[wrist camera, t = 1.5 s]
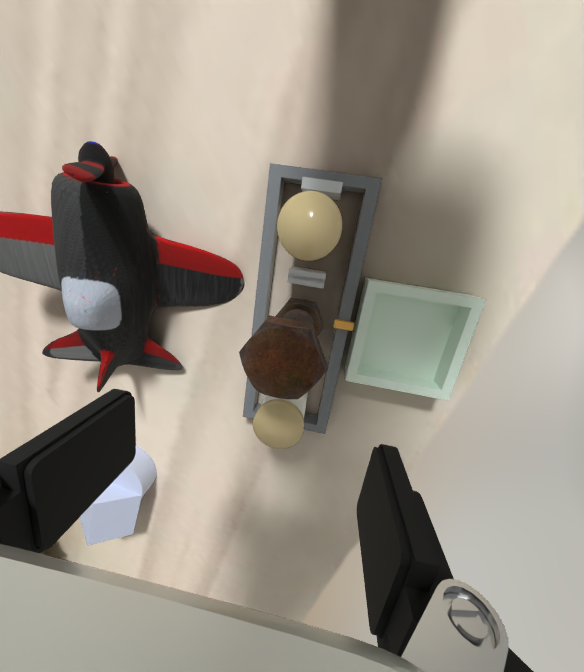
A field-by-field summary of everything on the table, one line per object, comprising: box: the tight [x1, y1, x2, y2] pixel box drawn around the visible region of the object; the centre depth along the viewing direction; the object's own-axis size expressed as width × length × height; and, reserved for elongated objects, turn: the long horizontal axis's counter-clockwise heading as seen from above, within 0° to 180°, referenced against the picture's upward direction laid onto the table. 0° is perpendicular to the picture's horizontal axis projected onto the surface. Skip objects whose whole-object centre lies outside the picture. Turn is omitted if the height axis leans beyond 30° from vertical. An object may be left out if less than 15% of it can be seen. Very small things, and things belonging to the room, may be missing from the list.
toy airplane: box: [0, 141, 244, 392], centre depth 29 cm, size 28×24×15 cm
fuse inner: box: [277, 191, 342, 261], centre depth 24 cm, size 5×5×10 cm
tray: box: [344, 278, 486, 400], centre depth 29 cm, size 11×11×3 cm
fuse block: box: [243, 163, 382, 434], centre depth 30 cm, size 11×28×4 cm, turn 171°
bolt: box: [239, 298, 327, 399], centre depth 24 cm, size 6×5×15 cm
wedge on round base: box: [80, 445, 157, 546], centre depth 40 cm, size 9×7×13 cm
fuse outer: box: [253, 392, 308, 449], centre depth 29 cm, size 5×5×10 cm
